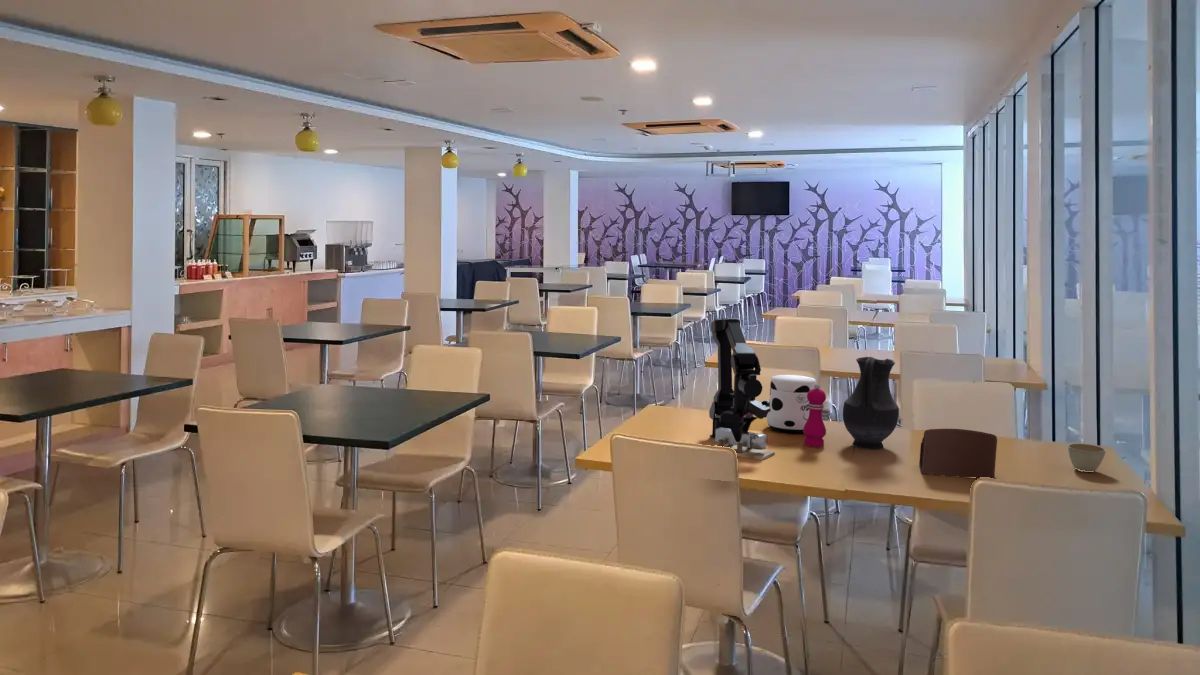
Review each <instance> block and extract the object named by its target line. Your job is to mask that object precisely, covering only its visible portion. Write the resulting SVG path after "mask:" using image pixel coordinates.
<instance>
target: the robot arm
mask: <svg viewBox="0 0 1200 675" xmlns="http://www.w3.org/2000/svg"><path fill="white" fill-rule="evenodd" d="M710 331H711V335H712V339H713V340H714V343H715V344H716V345H717V384H718V385H717V386H718V387H717V391H716V392H715V394H714V396H713V401H712V402H711V405H710V409H709V411H708V412H709V418H710V419H711V420H712V430H711V431H712V432H711V434H710V435H709V437H710V438H715V433H716V429H717V428H720V427H722V428H728V429H731V431H732V433H733V436H734V438H735V440H736V442H740V438H741V432H742V431H746V432H749V429H750V427H751V424H752V423H753V422H754V421H755V420H757V419H759V420H763V419H764V418H765V419H766V416H767V414H768V412H770V411H771V410H770V408H771V407H770V402H769V401H770V400H767V399H765V400H763V401H761V400H760V401H757V400H756V398H757V397H759V396H760V395H761V394H762V392H763V385H762V383H761V381H760V380H758V378H757V376H761V371H762V368H761V365H760V359H759V357H758V355H757V354H756V352H755V350H754V348H753V347H751V346H750V345H748V344H747V341H746V339H745V336H744V334H743V331H742V328H741V320H740V318H737V317H725V318H714V320H712V321H711V322H710ZM733 375H734V376H733ZM733 377H734V378H733Z"/></svg>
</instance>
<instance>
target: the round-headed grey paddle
mask: <svg viewBox="0 0 1200 675" xmlns="http://www.w3.org/2000/svg"><path fill="white" fill-rule="evenodd" d="M767 437H768V436H767V434H765V433H759V432H757V433H756V432H751V431H748V432H746V431H742V432H741V438H740V442H736V440H735V438H734V436H733V433H732V431H731V429H728V428H722V427H720V428H717V429H716V433H715V437H714V442H715V443H718V440H719V439H722V440H724V443H726V444H732V445H737V443H743V445H742V446H743V447H748V448H752V449H757V450H766V449H767Z"/></svg>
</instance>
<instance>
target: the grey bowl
mask: <svg viewBox="0 0 1200 675" xmlns="http://www.w3.org/2000/svg"><path fill="white" fill-rule="evenodd" d="M1067 448H1068V455H1069V458H1070V461H1071V463H1072V466H1073V469H1075V468H1077V469H1080V470H1085V471H1095V470H1096V471H1097V470H1098V469H1099V467H1100V465H1102V462H1103V459H1104V458H1105V455H1106V450H1107V449H1106V448H1104V447H1102V446H1100V445H1095V444H1089V443H1070V444H1068V446H1067ZM1096 471H1095V472H1096Z"/></svg>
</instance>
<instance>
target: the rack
mask: <svg viewBox="0 0 1200 675" xmlns="http://www.w3.org/2000/svg"><path fill="white" fill-rule="evenodd" d="M713 445H717V446H722V447H723V446H724V447H730V448H733V449H734V450H735V451H736V453H737V455H738V456H737V457H743V458H746V459H747V458H748V459H752V460H758V461H764V460H766V459H768V458H770V457H772V456H774V455H775V454H776V453H775V451H771V450H766V449H763V450H757V449H752V448H748V447H743V446H742V445H743V443H737V445H732V444H726V443H724V440H722V439H719V440H718V442H716V443H715V444H713Z"/></svg>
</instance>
